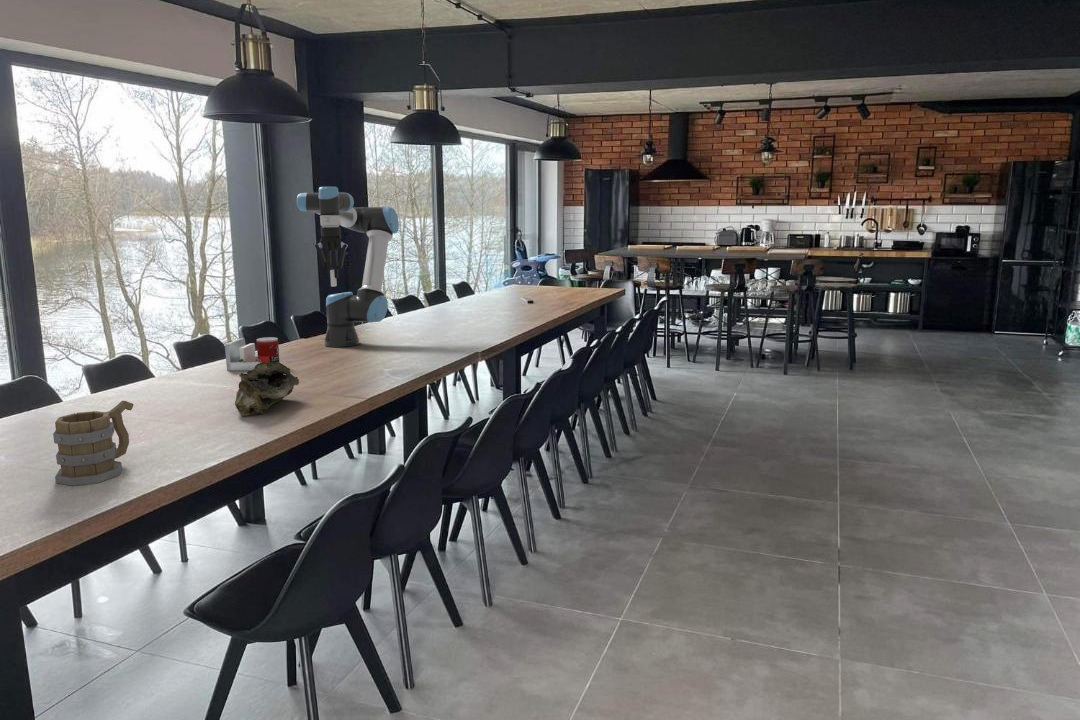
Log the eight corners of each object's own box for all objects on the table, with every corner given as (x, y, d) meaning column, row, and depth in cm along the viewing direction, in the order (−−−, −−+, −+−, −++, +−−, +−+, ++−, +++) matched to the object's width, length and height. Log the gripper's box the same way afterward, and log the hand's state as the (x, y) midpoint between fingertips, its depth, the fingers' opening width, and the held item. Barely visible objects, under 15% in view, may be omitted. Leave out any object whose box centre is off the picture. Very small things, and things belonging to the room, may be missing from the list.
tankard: (84, 488, 168) (76, 422, 165) (44, 481, 172) (35, 416, 169) (159, 461, 186) (153, 401, 183) (121, 455, 190) (114, 396, 188)
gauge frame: (242, 363, 304) (240, 338, 303) (274, 363, 304) (273, 338, 302) (226, 370, 291) (224, 344, 289) (260, 370, 290) (258, 344, 288)
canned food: (273, 369, 293) (271, 340, 290) (254, 368, 294) (252, 340, 292) (283, 365, 300) (281, 337, 298) (264, 364, 301) (262, 337, 299)
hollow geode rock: (288, 409, 251) (256, 376, 251) (313, 384, 249) (281, 350, 248) (242, 431, 224) (206, 393, 224) (269, 402, 221) (234, 364, 221)
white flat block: (252, 363, 303) (250, 343, 301) (256, 363, 302) (254, 343, 301) (237, 370, 289) (236, 349, 288) (241, 370, 289) (240, 349, 288)
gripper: (311, 226, 300) (314, 287, 305) (343, 226, 299) (347, 287, 304) (317, 226, 307) (320, 285, 312) (349, 226, 307) (352, 285, 311)
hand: (333, 286), depth 308 cm, fingers closed
